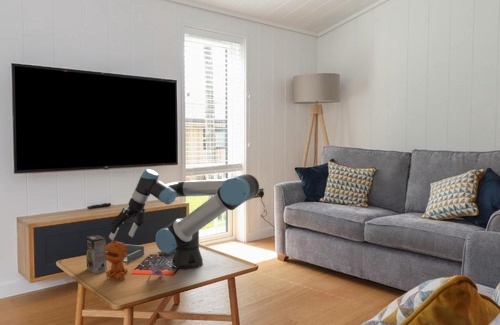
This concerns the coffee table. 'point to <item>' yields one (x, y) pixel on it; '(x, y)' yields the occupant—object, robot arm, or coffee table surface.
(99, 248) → the coffee box
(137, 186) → the robot arm
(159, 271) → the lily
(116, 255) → the orange figurine
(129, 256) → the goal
